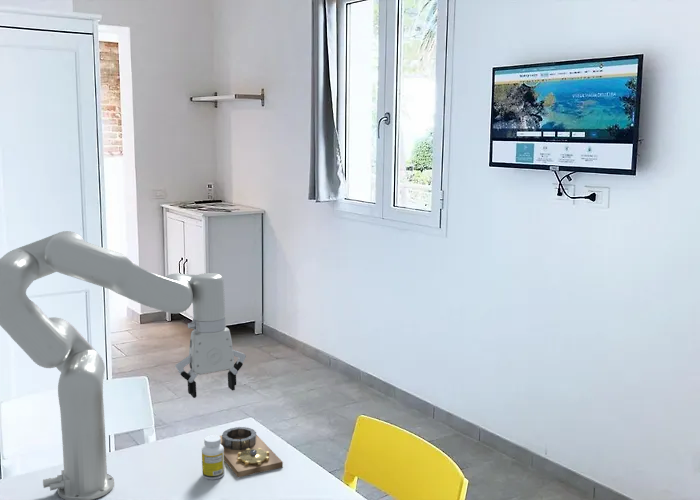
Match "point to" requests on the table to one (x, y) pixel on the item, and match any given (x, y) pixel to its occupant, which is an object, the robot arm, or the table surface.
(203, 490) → the table surface
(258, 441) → the gear board
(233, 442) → the socket ring
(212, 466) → the supplement bottle
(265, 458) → the brass gear
